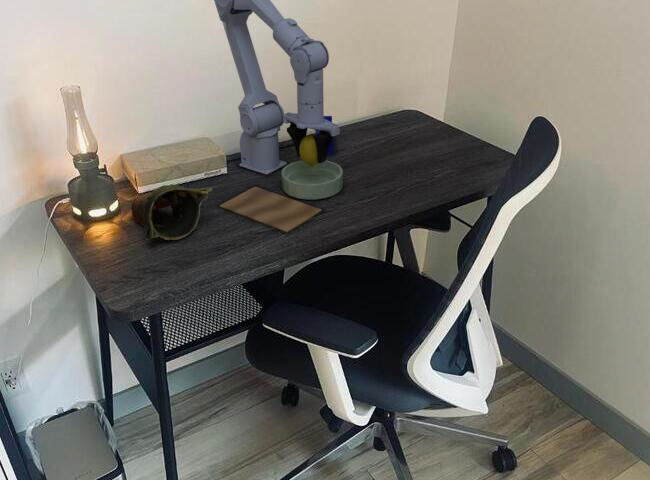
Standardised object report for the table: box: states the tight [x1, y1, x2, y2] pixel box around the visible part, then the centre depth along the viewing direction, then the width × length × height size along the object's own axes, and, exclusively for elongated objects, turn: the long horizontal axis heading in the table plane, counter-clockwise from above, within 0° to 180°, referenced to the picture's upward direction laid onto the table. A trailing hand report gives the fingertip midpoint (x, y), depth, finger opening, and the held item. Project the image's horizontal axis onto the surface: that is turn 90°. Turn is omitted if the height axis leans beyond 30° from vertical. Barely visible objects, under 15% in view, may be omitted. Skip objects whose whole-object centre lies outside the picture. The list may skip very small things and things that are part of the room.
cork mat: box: [218, 186, 323, 233], centre depth 149 cm, size 20×12×1 cm, turn 51°
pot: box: [130, 183, 213, 241], centre depth 142 cm, size 17×11×18 cm
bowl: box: [280, 159, 344, 200], centre depth 156 cm, size 14×14×4 cm
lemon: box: [299, 133, 318, 167], centre depth 152 cm, size 6×6×8 cm
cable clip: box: [314, 115, 334, 156], centre depth 176 cm, size 12×4×6 cm, turn 179°
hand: (311, 158), depth 154 cm, fingers closed on lemon, 5 cm apart
